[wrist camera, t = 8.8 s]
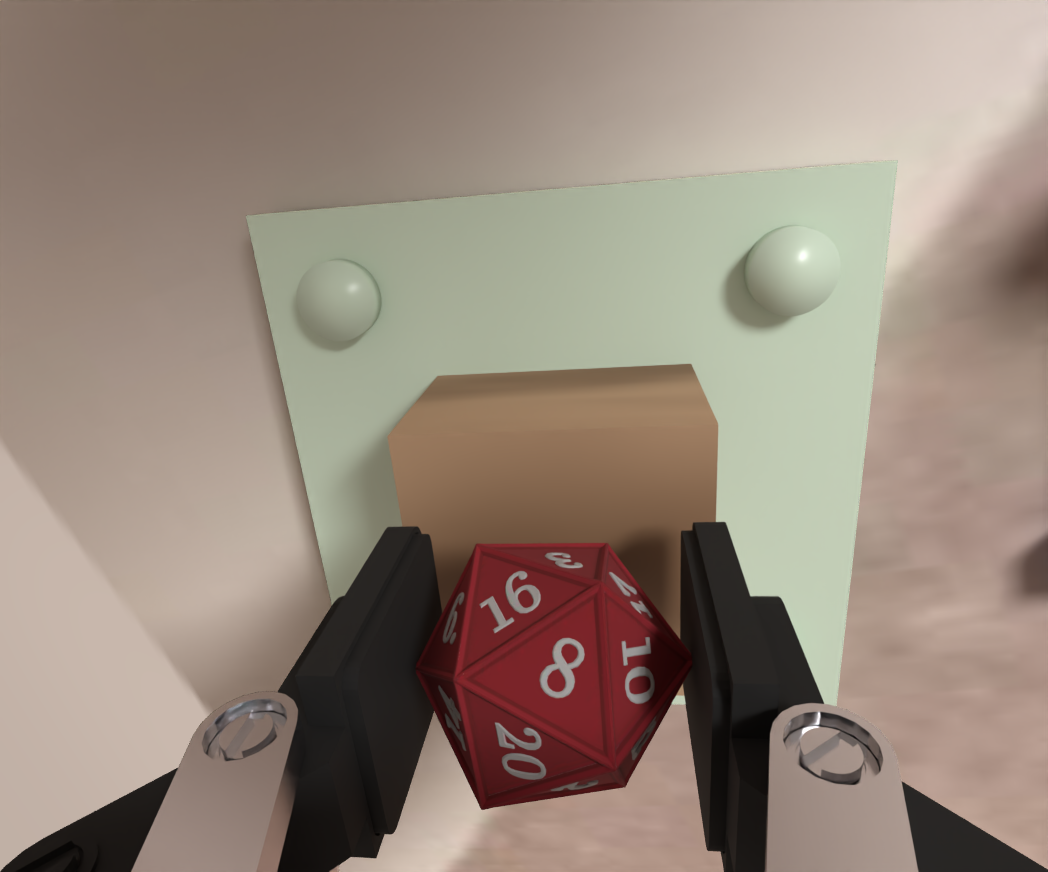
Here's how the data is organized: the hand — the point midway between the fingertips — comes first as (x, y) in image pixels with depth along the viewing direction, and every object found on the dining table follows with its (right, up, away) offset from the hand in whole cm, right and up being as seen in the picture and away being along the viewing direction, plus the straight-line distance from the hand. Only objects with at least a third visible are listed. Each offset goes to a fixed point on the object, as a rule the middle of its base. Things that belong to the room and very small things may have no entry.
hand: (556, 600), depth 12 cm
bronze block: (0, +2, +5) cm, 5 cm away
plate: (+1, +2, +6) cm, 6 cm away
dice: (0, 0, +1) cm, 1 cm away
